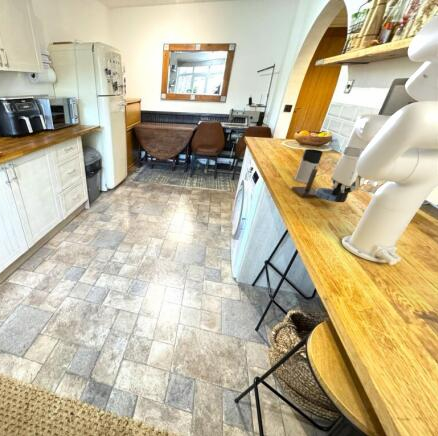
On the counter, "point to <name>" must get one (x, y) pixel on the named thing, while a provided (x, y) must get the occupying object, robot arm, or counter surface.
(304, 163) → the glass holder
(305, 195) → the stand
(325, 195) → the ring
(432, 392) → the counter surface
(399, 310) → the counter surface
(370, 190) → the wineglass
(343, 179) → the robot arm
